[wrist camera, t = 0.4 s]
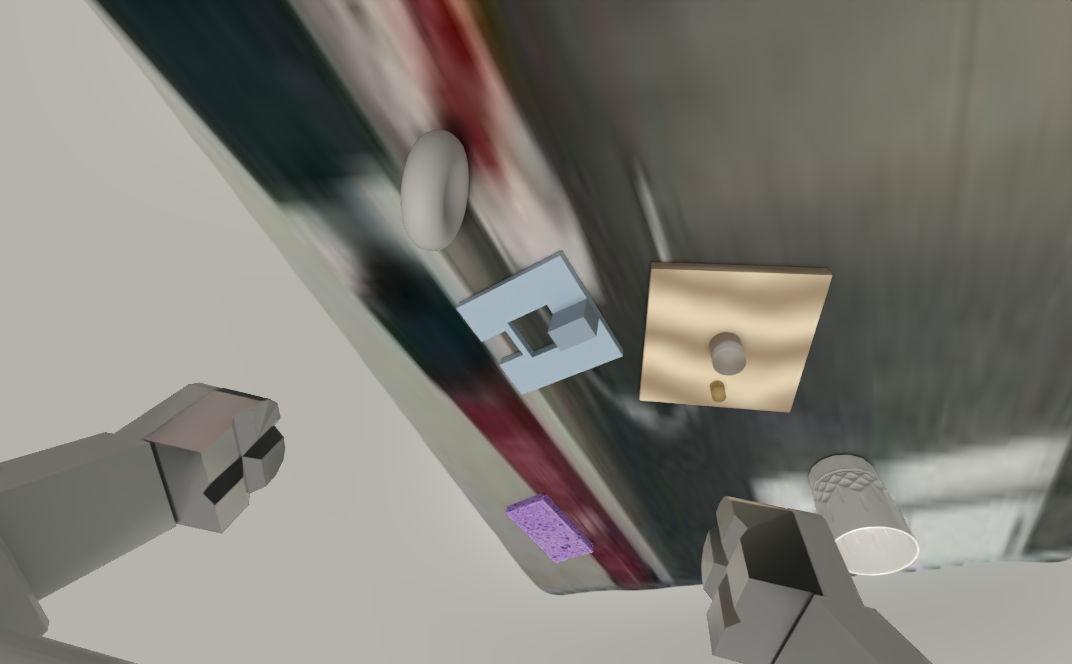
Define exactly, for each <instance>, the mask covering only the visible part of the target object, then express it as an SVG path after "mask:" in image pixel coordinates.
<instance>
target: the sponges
mask: <svg viewBox="0 0 1072 664" xmlns="http://www.w3.org/2000/svg"><path fill="white" fill-rule="evenodd" d="M506 512H507V513H506V514H507V515H508V516H509V517H510V518H511V519H512V520H513V521H515V523H516V524H517V525H518V526H519V527H520V528H521V529H523V530H524V532H526V533H527V535H529V537H530V538H531V539H532V540H533V541H535V542H536V543H537V545H538V546H539V547H540V548H541V549H542V550H543V551H544V552H546V554H547V555H548V556H549V557H550V558H551V559H552V560H553V561H554V562H555V563H558V562H561V561H564V560H568V559H569V558H570V557H571V558H574V557H577V556H578V555H583V554H588V553H592V552H593V548H592V547H593V543H592V542H591V541H590V540H589V539H588V538H587V537H586V536H585V535H584V534H583V533H582V532H581V531H580V530H579V529H578V528H577V527H576V526H575V524H574V523H572V521H570V519H569V518H568V517H567V516H566V515H565V514H564V513H563V512H562V511H561V510H560V509H559V508H558V507H557V505H556V504H555V503H554V502H553V501H552V500H551V499H550V498H549V497H548V496H547V495H544V494H538V495H536V496H534V497H531V498H529V499H526V500H524V501H523V502H518V503H516V504H513V505H510V506H507V511H506Z"/></svg>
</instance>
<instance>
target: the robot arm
mask: <svg viewBox="0 0 1072 664" xmlns="http://www.w3.org/2000/svg"><path fill="white" fill-rule="evenodd" d="M279 419H280V413H279V408H278V404H277V403H276V402H274V401H272V400H271V399H268V398H263V397H259V396H255V395H251V394H247V393H242V392H238V391H234V390H230V389H226V388H219V387H215V386H211V385H207V384H203V383H194V384H188V385H187V386H185V387H184V388H182V389H181V390H179V391H178V392H176V393H175V394H173V395H172V396H171V397H169V398H167V399H166V400H164V401H163V402H161V403H160V404H158V405H157V406H155V407H154V408H152V409H150V410H149V411H147V412H146V413H144V414H143V415H142V416H140V417H138V418H137V419H135V420H134V421H132V422H131V423H129V424H128V425H126V426H125V427H123V428H122V429H120V430H119V431H117V432H116V433H114V434H112V433H107V432H105V433H101V434H97V435H94V436H91V437H87V438H84V439H80V440H77V441H74V442H70V443H67V444H63V445H60V446H56V447H53V448H49V449H46V450H42V451H39V452H36V453H32V454H29V455H25V456H22V457H19V458H15V459H12V460H8V461H5V462H2V463H0V664H137V663H133V662H130V661H126V660H123V659H119V658H116V657H112V656H109V655H105V654H101V653H98V652H94V651H91V650H87V649H84V648H81V647H77V646H74V645H70V644H66V643H63V642H59V641H56V640H52V639H49V638H45V637H42V635H43V634H44V633H45V632H47V630H48V625H49V620H48V618H47V616H46V615H45V613H44V611H43V609H42V607H41V606H40V604H39V602H38V600H40V599H42V598H44V597H46V596H48V595H50V594H52V593H53V592H55V591H57V590H59V589H60V588H62V587H65V586H67V585H68V584H70V583H72V582H74V581H76V580H78V579H79V578H81V577H83V576H85V575H87V574H89V573H90V572H92V571H94V570H96V569H98V568H100V567H102V566H104V565H105V564H107V563H109V562H111V561H113V560H115V559H117V558H119V557H120V556H122V555H124V554H126V553H128V552H130V551H131V550H133V549H135V548H137V547H139V546H140V545H142V544H144V543H146V542H148V541H150V540H152V539H154V538H156V537H157V536H159V535H161V534H163V533H165V532H166V531H169V530H170V529H172V528H174V527H175V526H176V524H181V525H185V526H189V527H194V528H199V529H204V530H208V531H213V532H217V533H223V532H224V531H225V530H226V529H227V528H228V527H229V525H230V524H231V523H232V522H233V521H234V520H235V519H236V518H237V517H238V516H239V515H240V514H241V513H242V512H243V510H244V509H245V508H246V507H247V506H248V505H249V497H250V493H252V492H254V491H256V490H259V489H261V488H263V487H265V486H267V484H268V483H269V482H270V481H271V480H272V479H273V478H274V477H275V475H276V474H277V472H278V470H279V468H280V466H281V464H282V461H283V459H284V451H285V444H284V437H283V436H282V434H281V433H280V432H279V431H278V429H277V428H276V427H275V424H276V423H277V422H278V421H279ZM716 514H717V519H718V525H719V526H717V527H715V528H713V529H712V530H710V531H709V532H708V535H707V538H706V541H705V544H704V549H703V556H702V581H703V589H704V590H705V591H706V593H707V594H708V595H709V597H710V598H711V599H712V603H711V605H710V608H709V610H708V612H707V619H708V626H709V633H710V641H711V648H712V655H714V656H718V657H721V658H725V659H729V660H732V661H736V662H739V663H743V664H932V663H931V662H930V661H929V660H928V659H927V658H926V657H925V656H924V655H923V654H922V653H921V652H920V651H919V650H918V649H917V648H916V647H914V646H913V645H912V644H911V643H910V642H909V641H908V640H907V639H906V638H905V637H904V636H903V635H902V634H901V633H900V632H899V631H898V630H897V629H896V628H894V627H893V626H892V625H891V624H890V623H889V622H888V621H887V620H886V619H885V618H884V617H883V616H882V615H881V614H880V613H879V612H878V611H877V610H876V609H873V608H869V607H865V606H864V604H863V602H862V600H861V598H860V596H859V594H858V591H857V589H856V586H855V584H854V582H853V580H852V578H851V575H850V573H849V571H848V568H847V566H846V564H845V562H844V560H843V557H842V555H841V553H840V551H839V548H838V546H837V544H836V542H835V539H834V537H833V535H832V533H831V530H830V528H829V526H828V524H827V521H826V520H825V519H824V518H823V517H822V516H821V515H820V514H815V513H810V512H804V511H799V510H794V509H789V508H788V509H785V508H782V507H777V506H772V505H767V504H762V503H757V502H752V501H747V500H743V499H738V498H733V497H728V496H725V497H724V498H723V499H722V501H721V502H720V505H719V507H718V509H717V512H716Z"/></svg>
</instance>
